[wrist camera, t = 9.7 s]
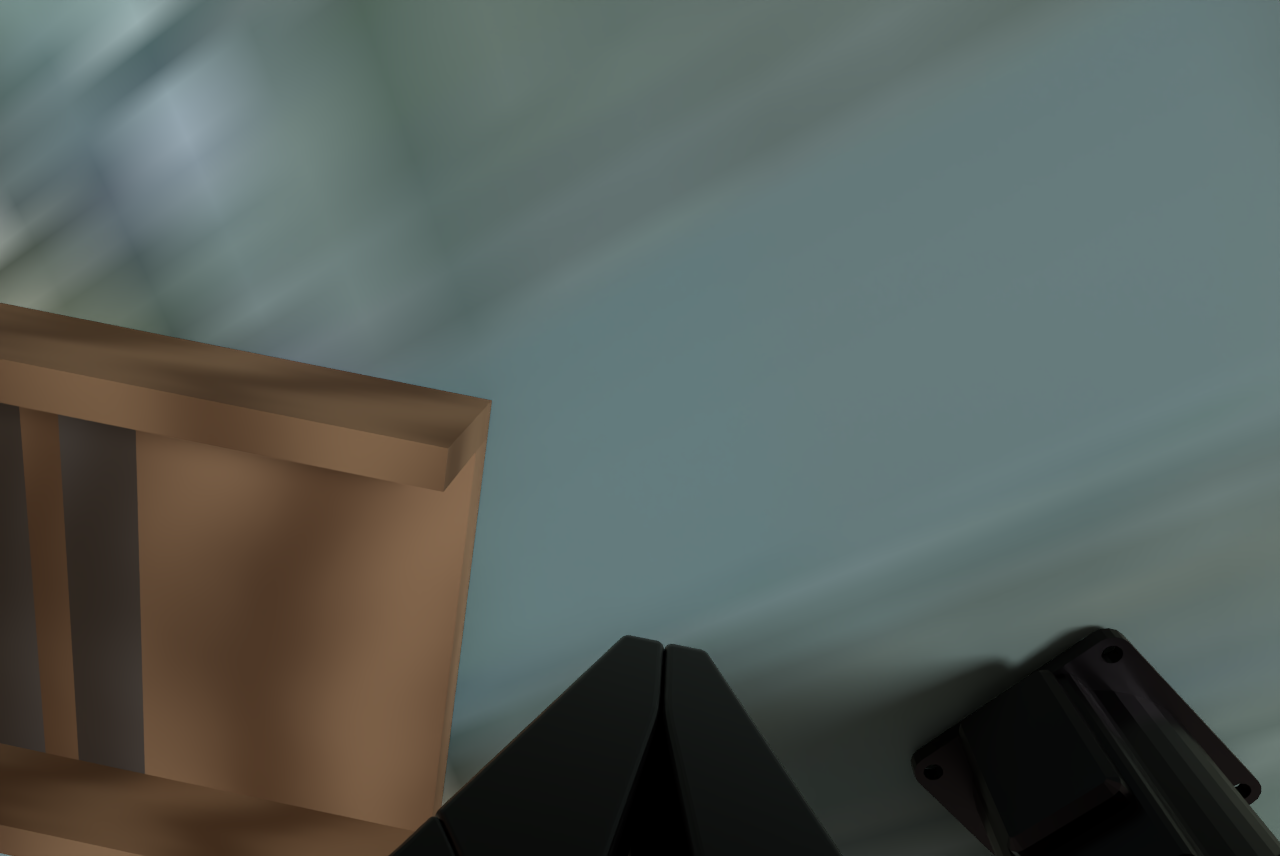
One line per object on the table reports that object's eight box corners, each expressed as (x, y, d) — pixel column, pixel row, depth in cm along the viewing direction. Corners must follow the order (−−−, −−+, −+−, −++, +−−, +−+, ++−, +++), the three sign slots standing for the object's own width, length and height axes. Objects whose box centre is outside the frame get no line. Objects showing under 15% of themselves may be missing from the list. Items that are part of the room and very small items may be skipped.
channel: (491, 400, 20) (448, 448, 17) (437, 833, 25) (395, 938, 22) (-390, 225, 21) (-599, 238, 18) (-284, 680, 25) (-435, 759, 22)
